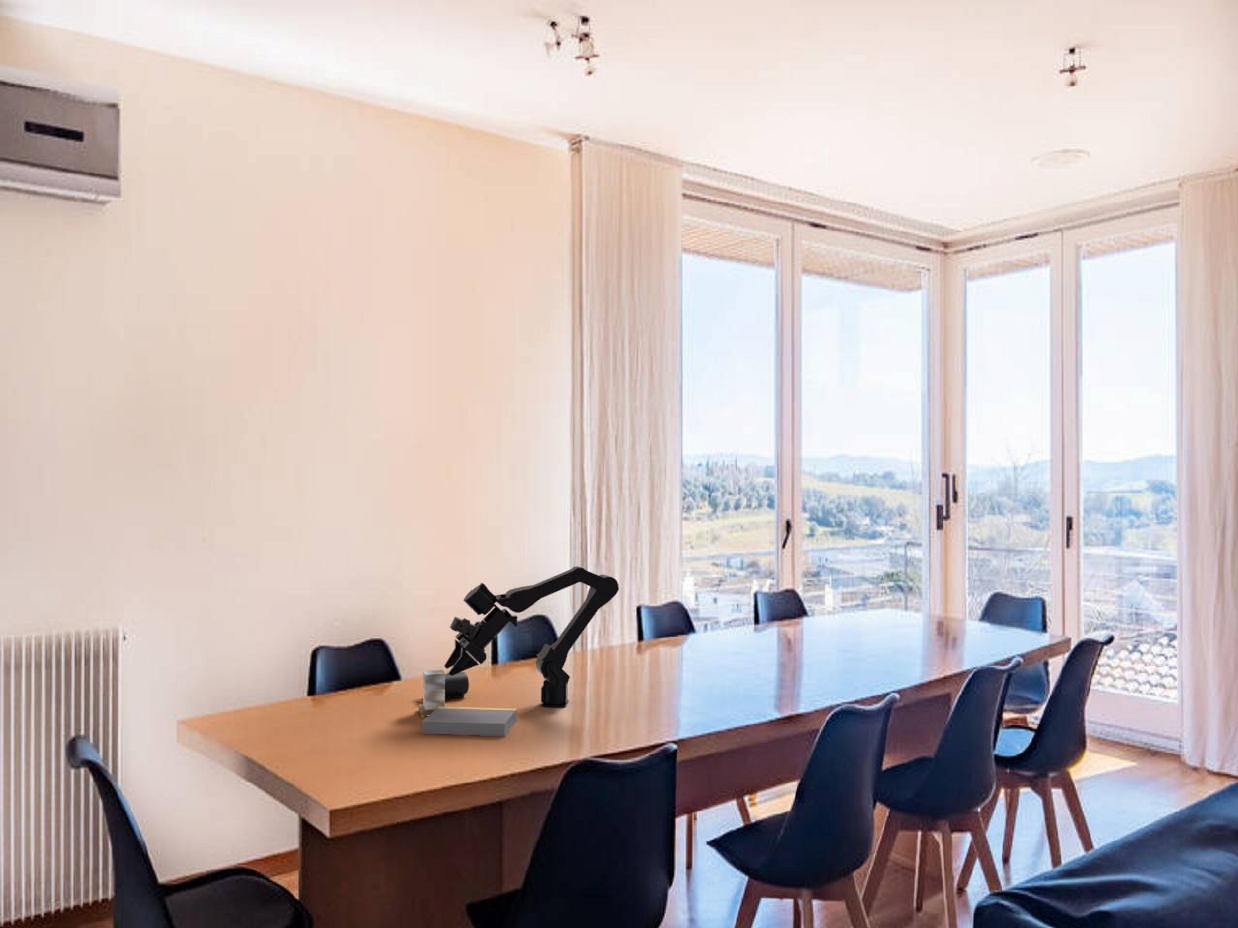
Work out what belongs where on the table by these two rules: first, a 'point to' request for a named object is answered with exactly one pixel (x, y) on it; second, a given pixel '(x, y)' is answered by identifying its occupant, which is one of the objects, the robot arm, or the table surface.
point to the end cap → (456, 685)
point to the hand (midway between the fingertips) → (447, 670)
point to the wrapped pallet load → (433, 691)
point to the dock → (469, 721)
